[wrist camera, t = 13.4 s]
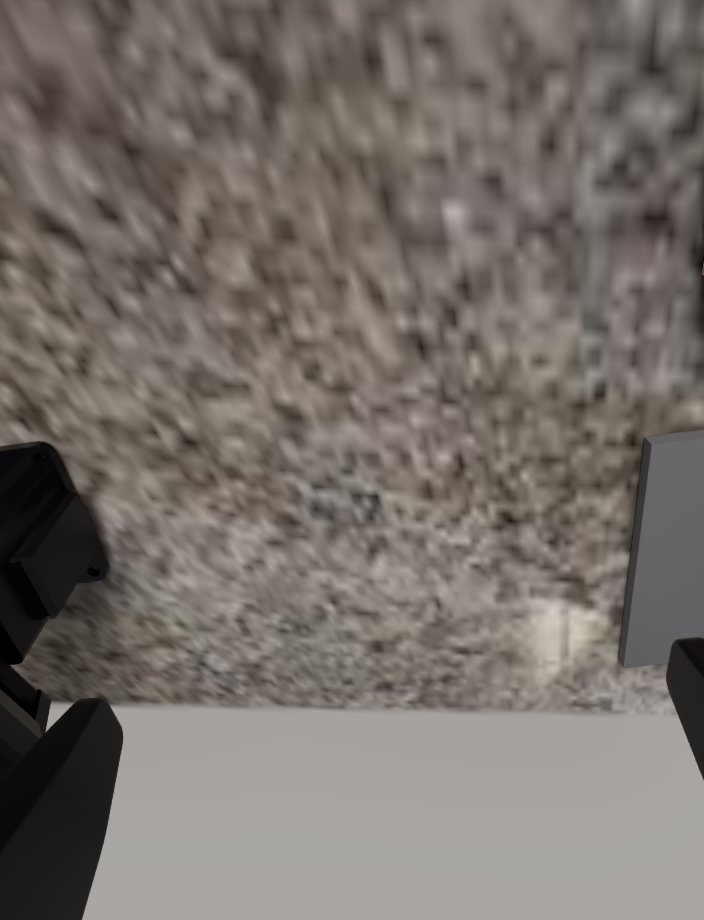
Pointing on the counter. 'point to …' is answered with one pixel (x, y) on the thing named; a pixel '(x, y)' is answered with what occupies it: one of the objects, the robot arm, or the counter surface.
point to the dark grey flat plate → (666, 551)
